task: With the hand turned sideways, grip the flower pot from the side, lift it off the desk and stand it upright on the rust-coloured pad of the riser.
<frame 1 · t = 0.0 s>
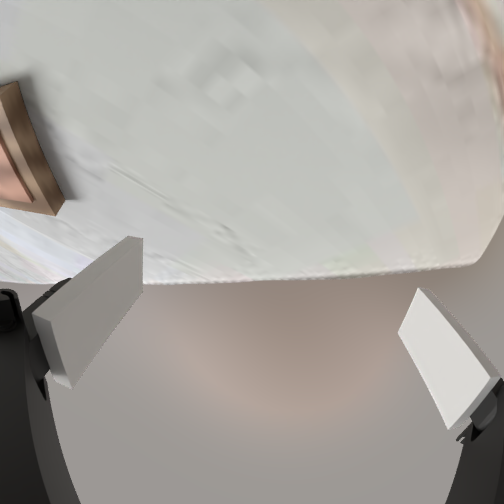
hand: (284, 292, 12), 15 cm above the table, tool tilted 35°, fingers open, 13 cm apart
riser: (0, 149, 25), on the table
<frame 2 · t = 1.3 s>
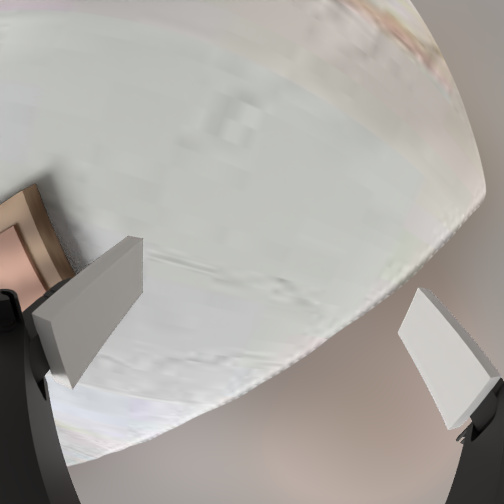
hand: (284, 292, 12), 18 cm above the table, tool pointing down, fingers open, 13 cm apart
riser: (19, 277, 29), on the table
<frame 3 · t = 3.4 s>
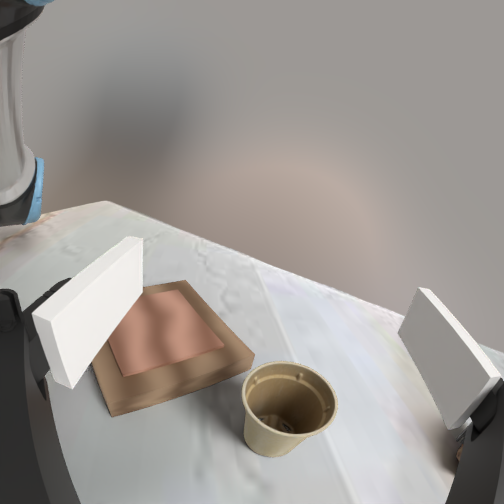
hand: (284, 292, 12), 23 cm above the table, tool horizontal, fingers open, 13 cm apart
riser: (154, 342, 37), on the table
flower pot: (269, 437, 27), on the table
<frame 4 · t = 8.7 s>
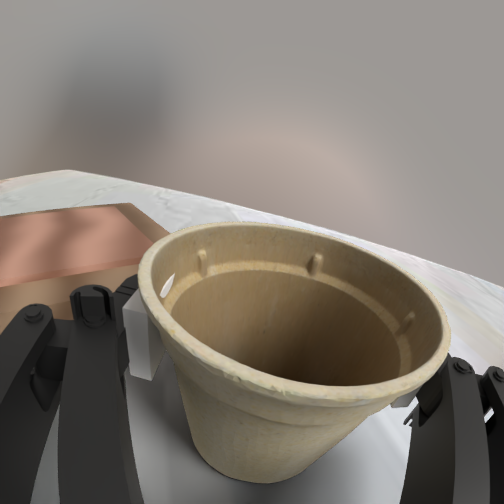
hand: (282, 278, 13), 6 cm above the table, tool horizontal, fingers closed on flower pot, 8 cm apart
riser: (64, 269, 21), on the table
flower pot: (255, 434, 11), on the table, touching gripper
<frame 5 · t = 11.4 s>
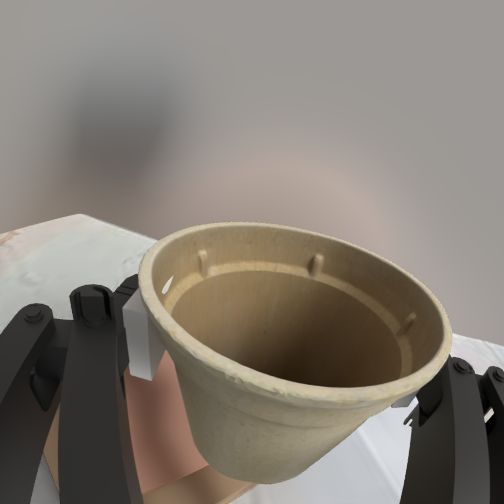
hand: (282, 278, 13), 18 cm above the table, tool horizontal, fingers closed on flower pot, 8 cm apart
riser: (147, 427, 20), on the table
flower pot: (255, 434, 11), point 11 cm above the table, touching gripper
when the fingers open (11 cm above the table, at t = 14.2 s): flower pot drops 1 cm, resting on riser.
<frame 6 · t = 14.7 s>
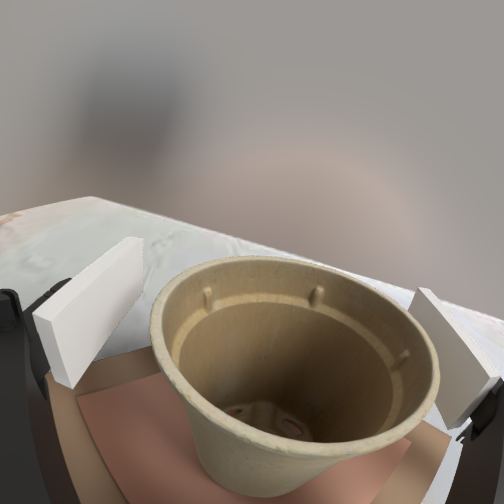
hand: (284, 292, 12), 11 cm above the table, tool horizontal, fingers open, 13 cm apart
riser: (241, 469, 13), on the table
flower pot: (256, 451, 12), point 3 cm above the table, touching riser
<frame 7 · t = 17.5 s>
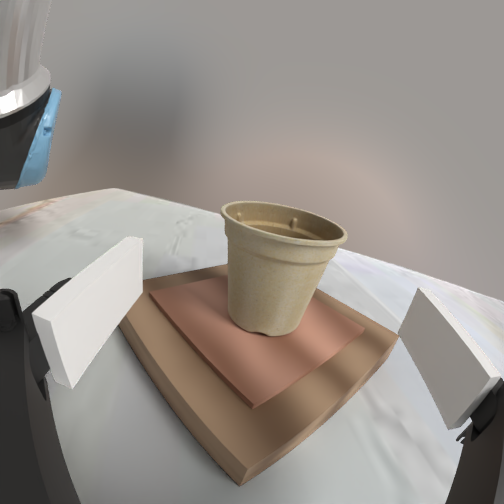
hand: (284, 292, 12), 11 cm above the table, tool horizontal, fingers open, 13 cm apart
riser: (252, 344, 25), on the table
flower pot: (262, 317, 24), point 3 cm above the table, touching riser
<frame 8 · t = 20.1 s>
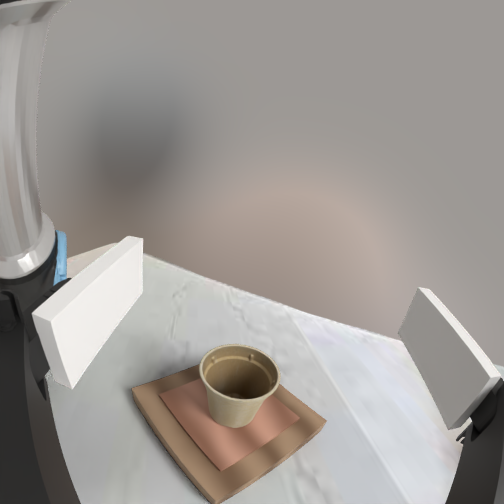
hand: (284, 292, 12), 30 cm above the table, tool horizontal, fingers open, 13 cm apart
riser: (226, 422, 35), on the table
flower pot: (231, 412, 34), point 3 cm above the table, touching riser
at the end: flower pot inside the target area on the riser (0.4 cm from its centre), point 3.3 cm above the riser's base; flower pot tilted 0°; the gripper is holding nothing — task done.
